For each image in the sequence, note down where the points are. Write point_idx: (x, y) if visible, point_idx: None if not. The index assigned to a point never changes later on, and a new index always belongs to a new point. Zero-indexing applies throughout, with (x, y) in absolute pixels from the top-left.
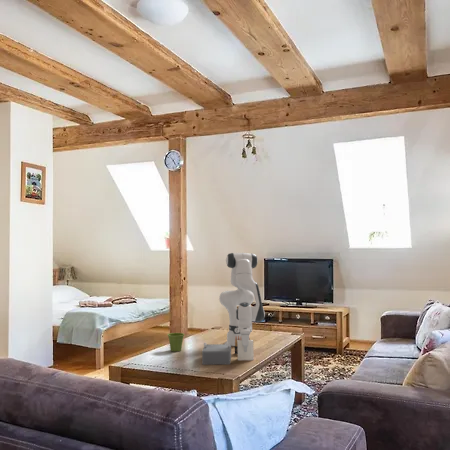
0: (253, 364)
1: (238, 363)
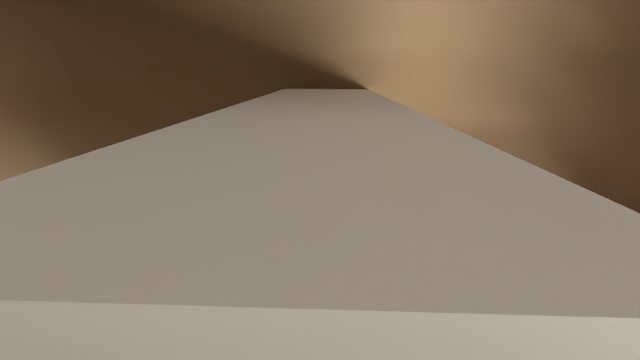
0: None
1: (65, 103)
